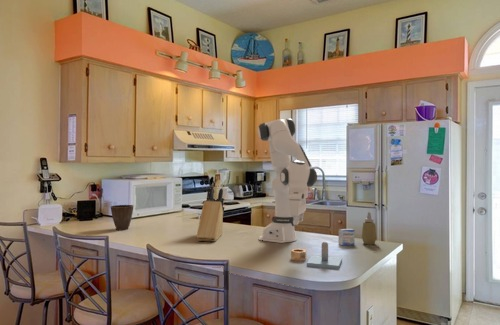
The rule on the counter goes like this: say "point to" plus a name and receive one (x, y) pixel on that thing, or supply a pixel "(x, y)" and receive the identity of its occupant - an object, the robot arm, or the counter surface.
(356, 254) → the counter surface
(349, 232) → the medicine box
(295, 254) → the copper ring
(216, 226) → the knife block
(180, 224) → the counter surface
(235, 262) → the counter surface
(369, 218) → the squeeze bottle
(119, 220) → the plant pot
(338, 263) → the post base
